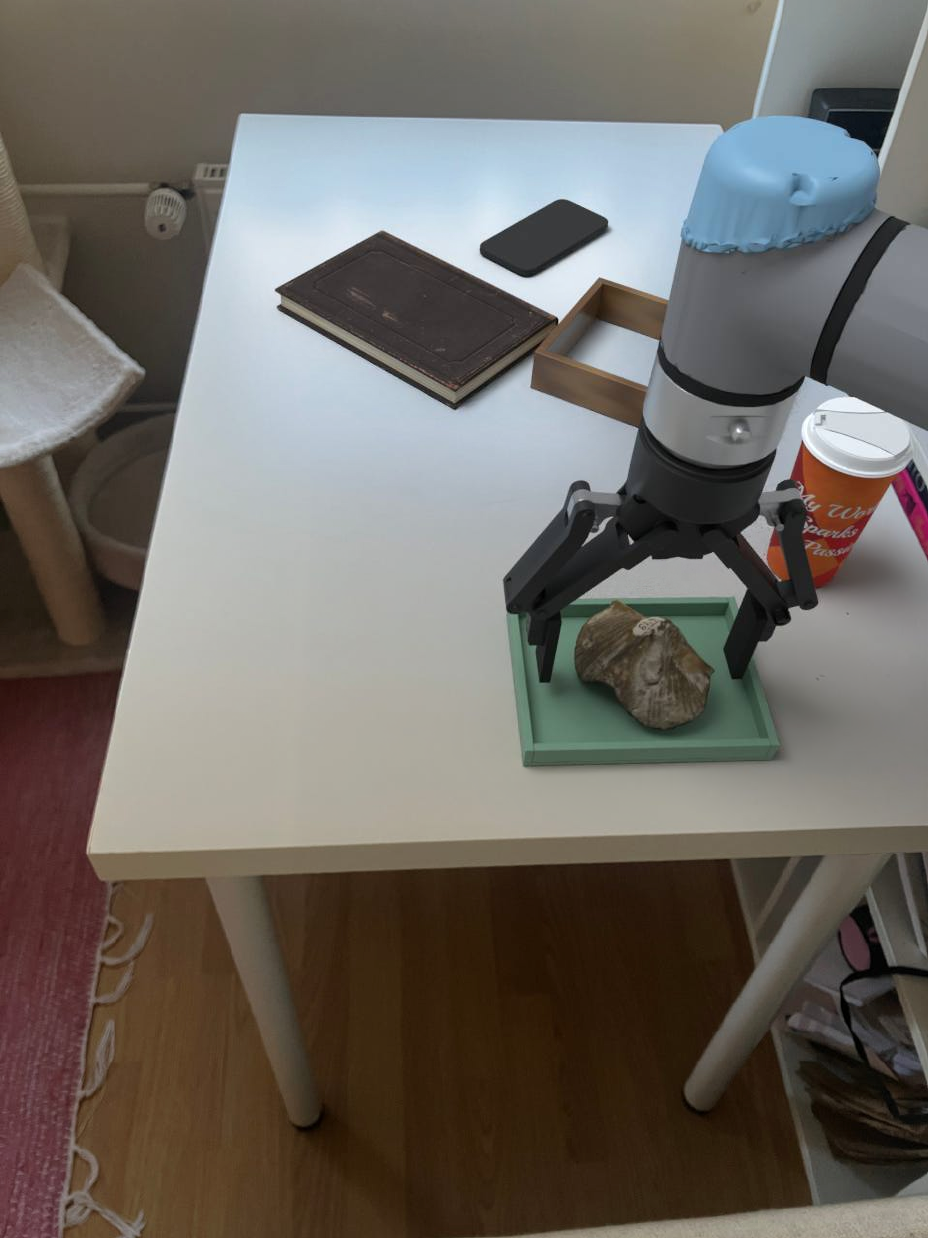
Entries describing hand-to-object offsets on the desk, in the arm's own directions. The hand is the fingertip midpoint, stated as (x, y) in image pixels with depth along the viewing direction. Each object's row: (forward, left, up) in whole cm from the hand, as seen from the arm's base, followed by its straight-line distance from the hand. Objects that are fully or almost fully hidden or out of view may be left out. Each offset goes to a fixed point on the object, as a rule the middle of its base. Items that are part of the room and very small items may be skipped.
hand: (638, 666), depth 71 cm
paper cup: (-7, -18, -2) cm, 20 cm away
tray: (0, 0, -2) cm, 2 cm away
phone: (+32, -51, -2) cm, 60 cm away
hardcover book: (+36, -30, -2) cm, 47 cm away
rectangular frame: (+12, -34, -2) cm, 36 cm away
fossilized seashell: (0, 0, -2) cm, 2 cm away
